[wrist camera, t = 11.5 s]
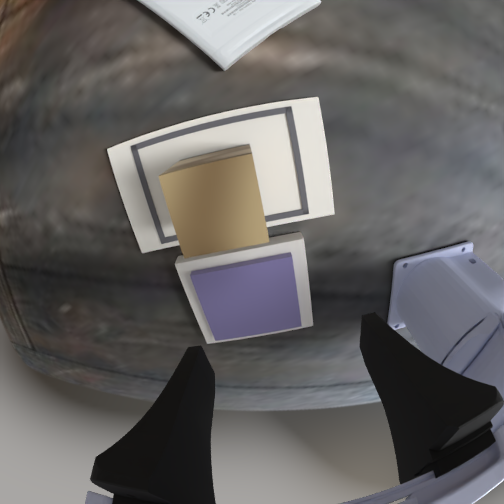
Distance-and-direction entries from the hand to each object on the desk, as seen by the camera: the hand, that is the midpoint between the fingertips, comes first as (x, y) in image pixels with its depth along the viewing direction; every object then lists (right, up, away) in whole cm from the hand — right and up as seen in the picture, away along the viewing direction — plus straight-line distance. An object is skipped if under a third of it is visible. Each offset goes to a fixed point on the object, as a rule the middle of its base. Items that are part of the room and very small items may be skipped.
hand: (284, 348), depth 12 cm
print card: (-3, +9, +6) cm, 11 cm away
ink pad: (-2, +1, +10) cm, 10 cm away
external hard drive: (-4, +22, 0) cm, 23 cm away
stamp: (-3, +8, +6) cm, 11 cm away
